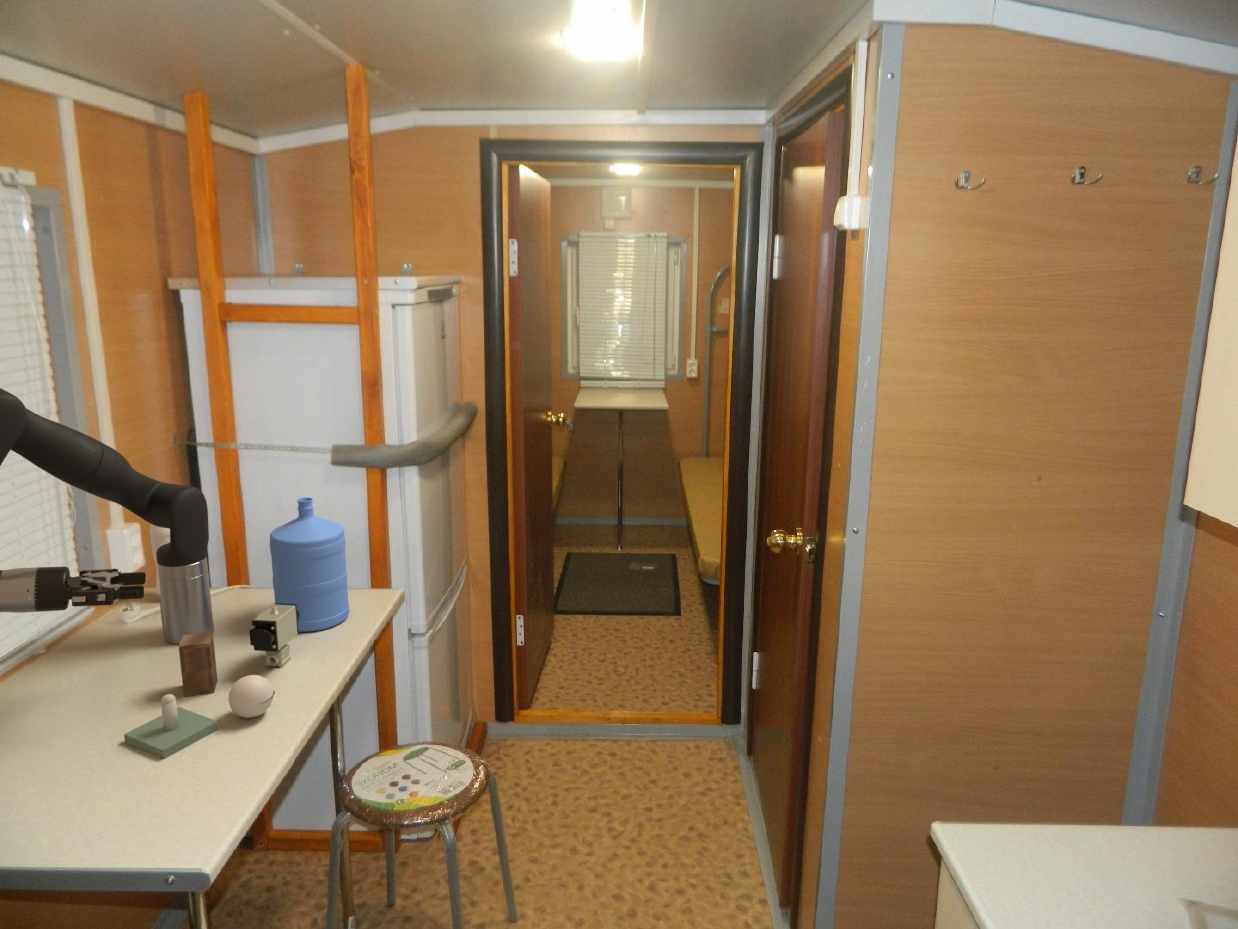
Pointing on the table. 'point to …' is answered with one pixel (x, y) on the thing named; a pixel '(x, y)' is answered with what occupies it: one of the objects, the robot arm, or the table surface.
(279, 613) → the pneumatic valve
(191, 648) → the brown wooden block
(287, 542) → the water jug
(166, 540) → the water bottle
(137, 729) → the stub base
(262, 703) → the seamed sphere
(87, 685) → the table surface
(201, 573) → the robot arm
